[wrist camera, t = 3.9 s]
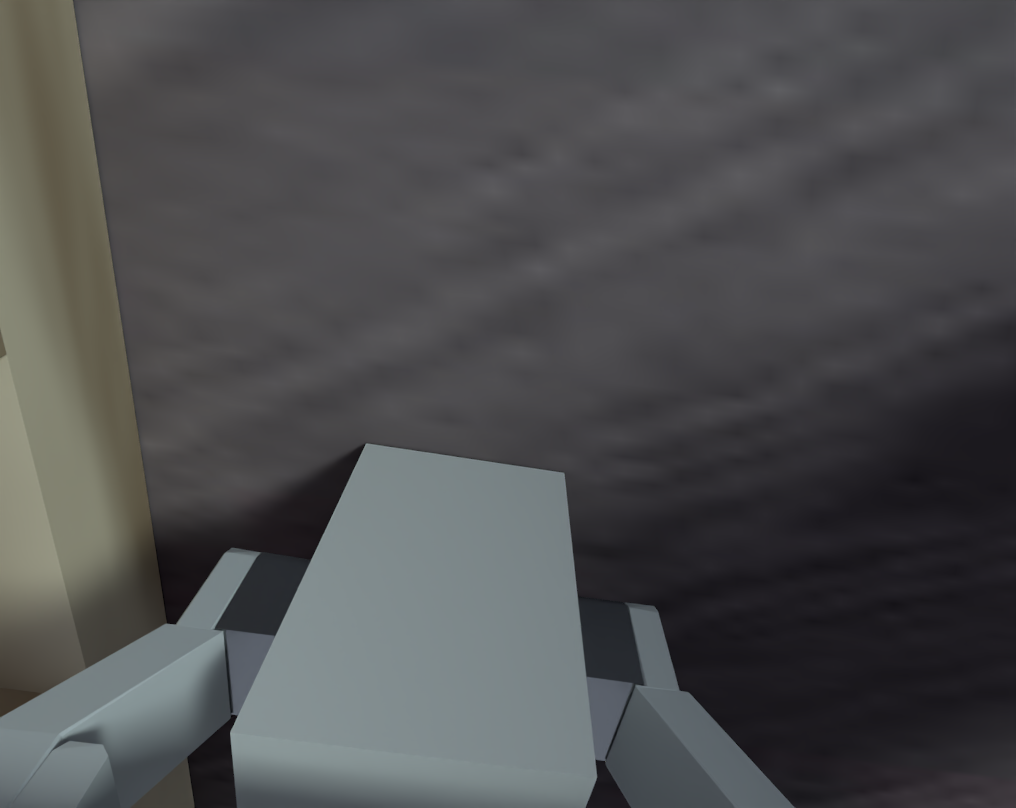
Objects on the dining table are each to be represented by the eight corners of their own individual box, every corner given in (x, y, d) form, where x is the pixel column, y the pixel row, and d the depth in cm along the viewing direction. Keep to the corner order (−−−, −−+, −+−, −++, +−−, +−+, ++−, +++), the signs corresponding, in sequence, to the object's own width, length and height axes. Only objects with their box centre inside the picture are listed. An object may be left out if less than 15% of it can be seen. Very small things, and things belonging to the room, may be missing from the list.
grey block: (564, 472, 12) (597, 777, 6) (522, 644, 14) (520, 975, 9) (365, 443, 12) (230, 732, 6) (356, 621, 14) (250, 946, 8)
